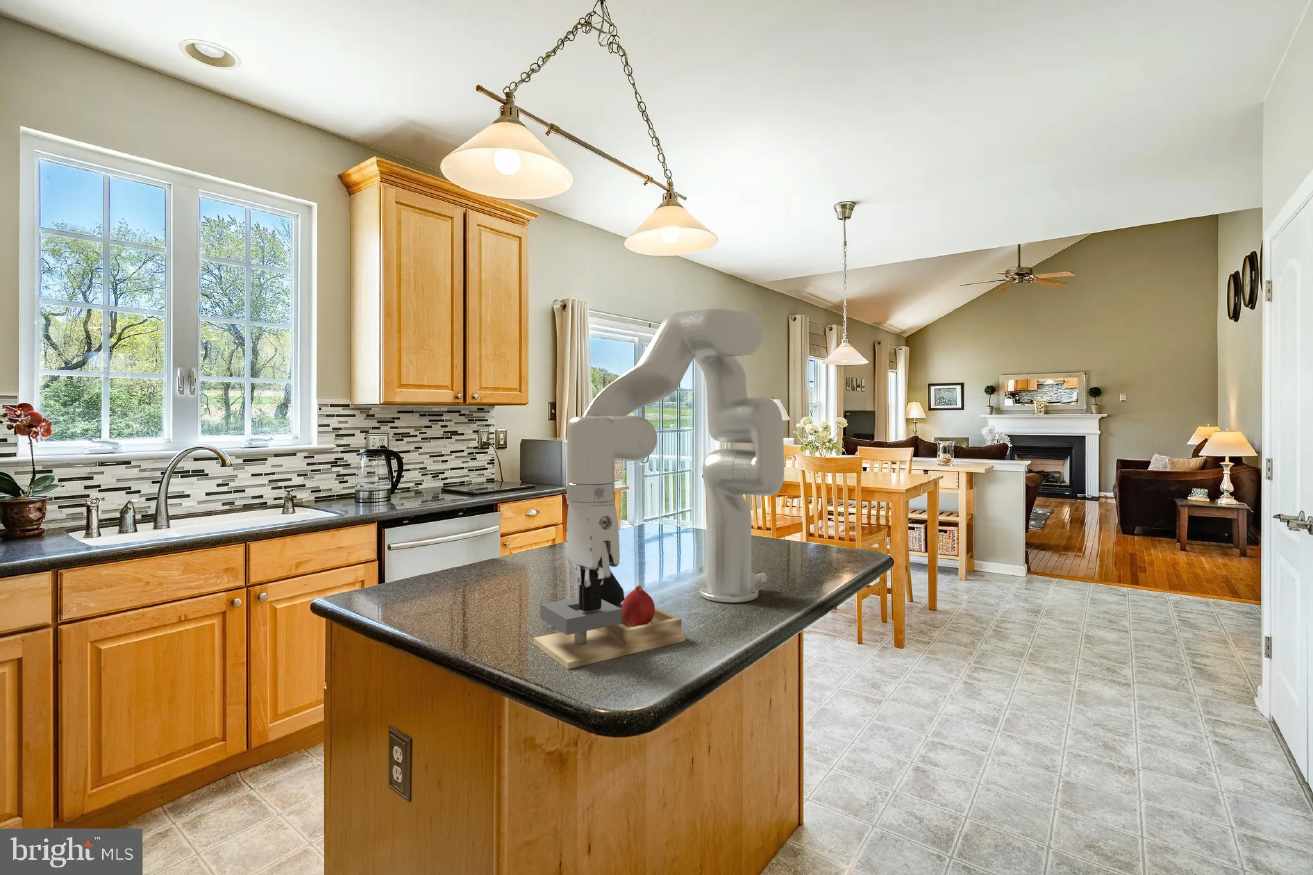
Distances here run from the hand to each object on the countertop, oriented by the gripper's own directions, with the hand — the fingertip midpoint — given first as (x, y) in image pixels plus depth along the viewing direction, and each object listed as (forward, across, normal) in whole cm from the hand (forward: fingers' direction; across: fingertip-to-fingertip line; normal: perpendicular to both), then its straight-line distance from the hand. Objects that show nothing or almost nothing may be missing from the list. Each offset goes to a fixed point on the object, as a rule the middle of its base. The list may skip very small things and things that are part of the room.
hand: (590, 609), depth 99 cm
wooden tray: (+7, +4, -6) cm, 10 cm away
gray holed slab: (+3, +4, 0) cm, 5 cm away
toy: (+8, +21, -14) cm, 26 cm away
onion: (+7, +3, -11) cm, 14 cm away
